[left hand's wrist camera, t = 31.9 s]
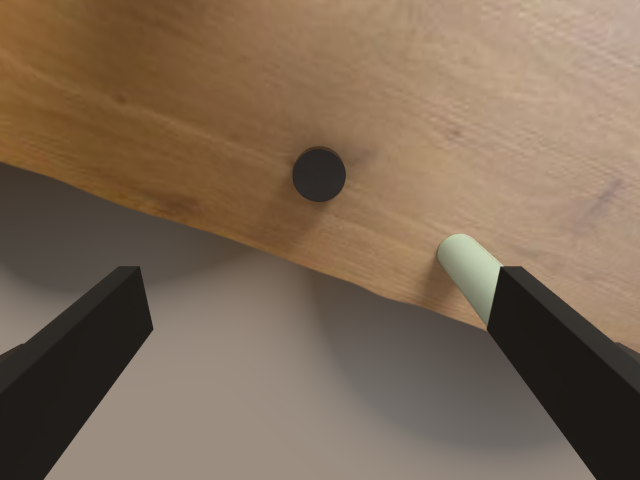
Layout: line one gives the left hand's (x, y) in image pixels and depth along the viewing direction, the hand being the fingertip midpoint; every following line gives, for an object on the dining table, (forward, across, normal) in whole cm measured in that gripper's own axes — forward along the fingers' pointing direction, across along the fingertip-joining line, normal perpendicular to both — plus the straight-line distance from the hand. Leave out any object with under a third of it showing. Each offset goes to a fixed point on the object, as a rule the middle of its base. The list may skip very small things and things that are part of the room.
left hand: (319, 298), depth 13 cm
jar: (+26, +16, -10) cm, 33 cm away
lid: (+24, 0, 0) cm, 25 cm away
